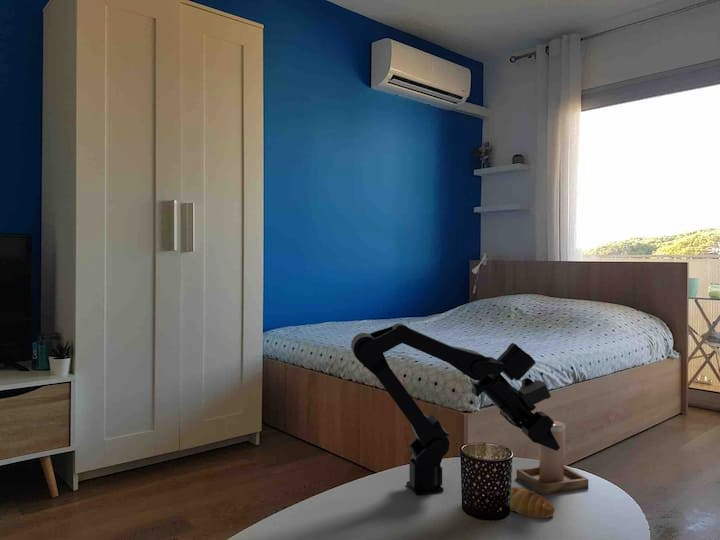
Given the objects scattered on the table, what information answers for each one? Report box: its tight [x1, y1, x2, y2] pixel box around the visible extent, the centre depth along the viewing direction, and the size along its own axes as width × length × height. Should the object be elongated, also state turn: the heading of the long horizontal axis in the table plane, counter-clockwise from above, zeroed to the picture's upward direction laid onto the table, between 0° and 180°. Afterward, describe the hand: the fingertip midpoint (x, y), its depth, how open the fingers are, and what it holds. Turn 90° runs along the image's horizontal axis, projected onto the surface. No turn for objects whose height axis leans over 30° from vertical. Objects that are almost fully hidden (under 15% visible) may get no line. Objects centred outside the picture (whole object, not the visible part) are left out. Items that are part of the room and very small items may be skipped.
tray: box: [516, 465, 589, 496], centre depth 129 cm, size 12×10×2 cm
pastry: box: [509, 486, 555, 519], centre depth 115 cm, size 9×7×4 cm
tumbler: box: [538, 420, 566, 483], centre depth 129 cm, size 6×6×13 cm
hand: (549, 442), depth 129 cm, fingers open, 9 cm apart
